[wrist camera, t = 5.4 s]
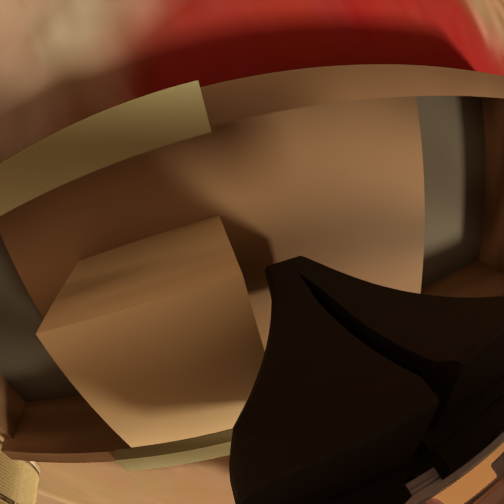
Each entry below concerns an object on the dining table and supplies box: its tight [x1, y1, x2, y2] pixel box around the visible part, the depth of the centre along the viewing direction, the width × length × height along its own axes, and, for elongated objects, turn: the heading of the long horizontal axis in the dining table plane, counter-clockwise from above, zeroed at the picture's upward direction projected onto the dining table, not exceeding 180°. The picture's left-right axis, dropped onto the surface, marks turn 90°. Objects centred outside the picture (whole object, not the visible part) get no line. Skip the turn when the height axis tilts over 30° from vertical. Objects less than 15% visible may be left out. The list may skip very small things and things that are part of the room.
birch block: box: [36, 216, 265, 447], centre depth 9 cm, size 5×5×4 cm
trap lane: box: [0, 64, 504, 471], centre depth 11 cm, size 13×34×5 cm, turn 103°
